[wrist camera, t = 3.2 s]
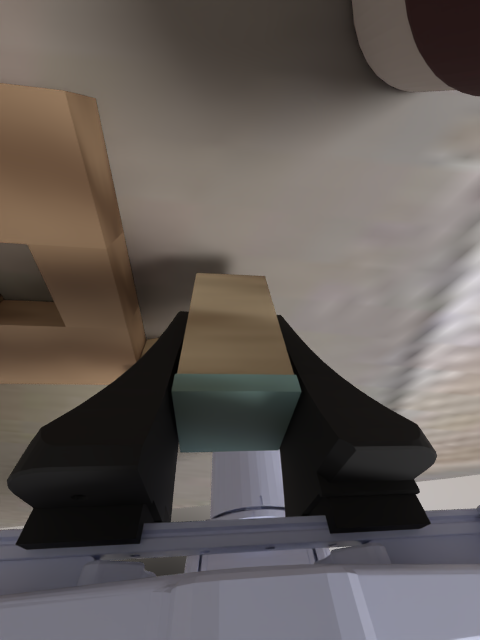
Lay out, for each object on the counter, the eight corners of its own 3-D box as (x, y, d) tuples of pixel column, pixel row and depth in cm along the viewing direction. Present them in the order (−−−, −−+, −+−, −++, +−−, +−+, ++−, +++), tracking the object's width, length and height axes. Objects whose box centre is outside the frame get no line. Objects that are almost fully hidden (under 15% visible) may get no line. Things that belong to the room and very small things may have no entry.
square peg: (257, 329, 15) (278, 450, 9) (197, 327, 14) (180, 452, 9) (265, 275, 12) (301, 391, 7) (195, 272, 12) (171, 391, 6)
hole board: (150, 359, 20) (142, 384, 18) (-9, 356, 19) (-36, 383, 17) (95, 98, 10) (64, 90, 8) (-247, 58, 9) (-381, 37, 7)
